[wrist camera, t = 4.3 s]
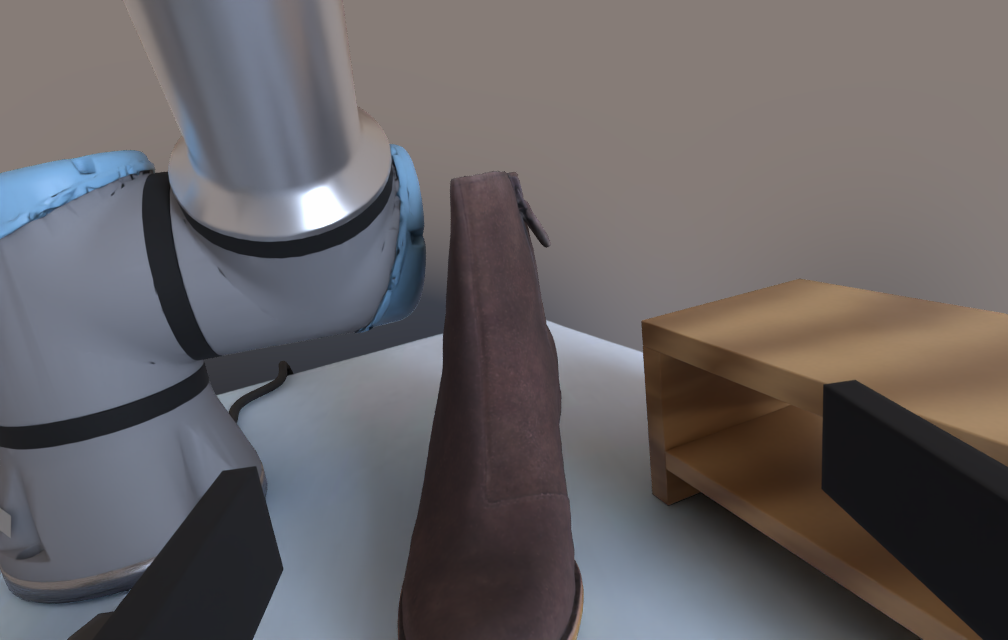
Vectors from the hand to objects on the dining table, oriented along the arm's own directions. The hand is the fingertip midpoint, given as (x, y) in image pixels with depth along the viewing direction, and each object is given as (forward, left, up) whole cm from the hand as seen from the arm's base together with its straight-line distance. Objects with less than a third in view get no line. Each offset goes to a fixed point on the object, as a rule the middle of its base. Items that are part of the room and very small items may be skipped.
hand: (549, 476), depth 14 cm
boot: (-16, +4, -14) cm, 21 cm away
